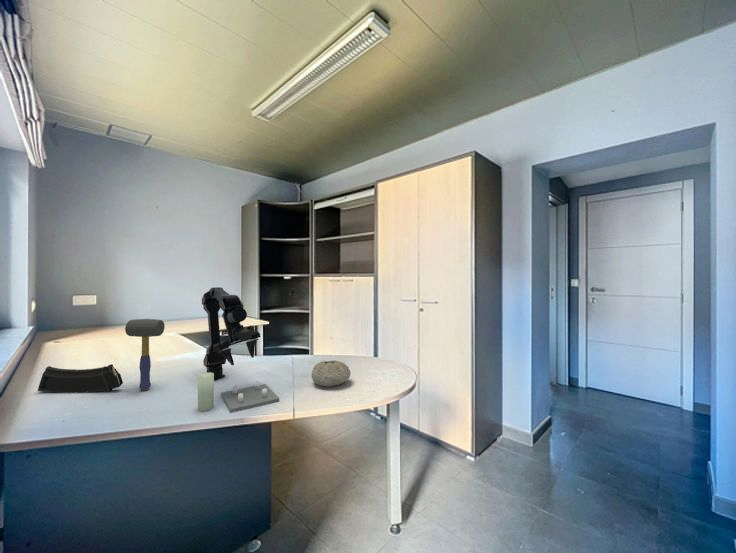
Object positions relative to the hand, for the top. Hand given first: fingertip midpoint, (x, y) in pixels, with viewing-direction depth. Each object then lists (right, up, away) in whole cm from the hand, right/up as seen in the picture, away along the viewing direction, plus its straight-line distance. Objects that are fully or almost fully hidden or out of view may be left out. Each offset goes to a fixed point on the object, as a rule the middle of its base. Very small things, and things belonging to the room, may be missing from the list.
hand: (243, 361), depth 128 cm
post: (-8, -14, -13) cm, 21 cm away
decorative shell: (+35, -14, +14) cm, 40 cm away
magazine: (-66, -13, -1) cm, 68 cm away
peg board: (+4, -14, -4) cm, 15 cm away
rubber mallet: (-42, -13, +2) cm, 44 cm away
